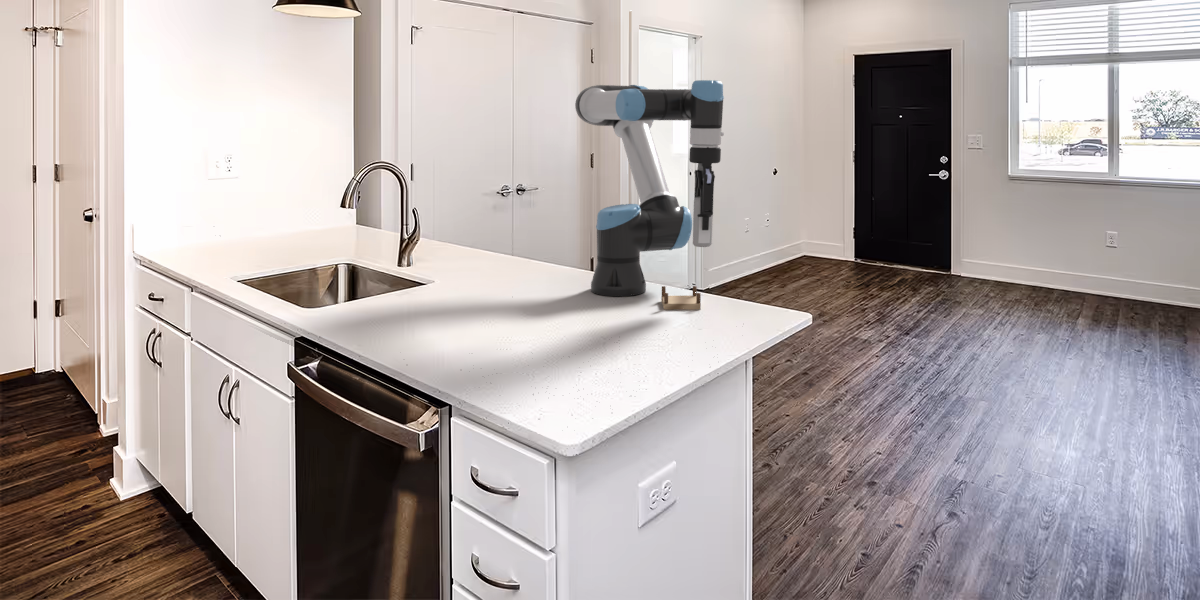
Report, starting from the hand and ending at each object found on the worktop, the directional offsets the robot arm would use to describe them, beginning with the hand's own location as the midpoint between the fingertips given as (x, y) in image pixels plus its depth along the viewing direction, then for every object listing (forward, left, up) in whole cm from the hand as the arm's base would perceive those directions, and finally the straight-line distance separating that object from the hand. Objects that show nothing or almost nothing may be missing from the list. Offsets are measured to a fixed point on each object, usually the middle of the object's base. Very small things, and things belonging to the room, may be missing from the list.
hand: (701, 240), depth 191 cm
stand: (-2, -5, -16) cm, 17 cm away
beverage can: (0, 0, -1) cm, 1 cm away
